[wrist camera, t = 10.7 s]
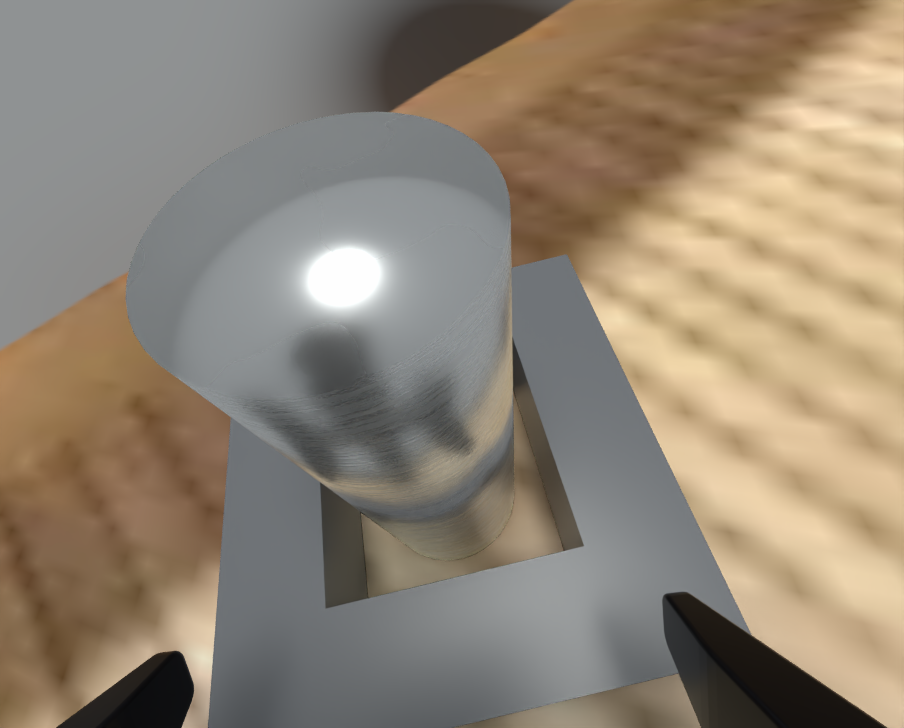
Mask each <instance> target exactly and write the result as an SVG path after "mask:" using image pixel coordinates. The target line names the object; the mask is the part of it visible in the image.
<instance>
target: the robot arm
mask: <svg viewBox="0 0 904 728" xmlns="http://www.w3.org/2000/svg"><path fill="white" fill-rule="evenodd" d="M662 608H663V624H664V635H665V639H666V643H667V646H668V648H669V651H670V653H671V656H672V658H673V660H674V663H675V665H676V668H677V670H678V673H679V675H680V677H681V680H682V682H683V685H684V687H685V689H686V692H687V694H688V697H689V699H690V701H691V704H692V706H693V709H694V711H695V714H696V716H697V718H698V721H699V723H700V726H701V728H887V727H886V726H884V725H883V724H881V723H880V722H878V721H877V720H876V719H874V718H873V717H871V716H870V715H868V714H867V713H865V712H864V711H862V710H861V709H859V708H858V707H856V706H855V705H853V704H852V703H850V702H849V701H848V700H846V699H845V698H843V697H842V696H840V695H839V694H837V693H836V692H834V691H833V690H831V689H830V688H828V687H827V686H825V685H824V684H823V683H821V682H820V681H818V680H817V679H815V678H814V677H812V676H811V675H809V674H808V673H806V672H805V671H803V670H802V669H800V668H799V667H798V666H796V665H795V664H793V663H792V662H790V661H789V660H787V659H786V658H784V657H783V656H781V655H780V654H778V653H777V652H775V651H774V650H773V649H771V648H770V647H768V646H767V645H765V644H764V643H762V642H761V641H759V640H758V639H756V638H755V637H753V636H752V635H750V634H749V633H747V632H746V631H745V630H743V629H742V628H740V627H739V626H737V625H736V624H734V623H733V622H731V621H730V620H728V619H727V618H725V617H724V616H722V615H721V614H720V613H718V612H717V611H715V610H714V609H712V608H711V607H709V606H708V605H706V604H705V603H703V602H702V601H700V600H699V599H697V598H696V597H695V596H693V595H692V594H690V593H688V592H684V591H682V592H674V593H666V594H664V595H663V598H662ZM193 694H194V684H193V681H192V678H191V675H190V672H189V669H188V667H187V664H186V661H185V658H184V656H183V654H182V653H181V652H179V651H171V652H162V653H158V654H156V655H154V656H152V657H151V658H150V659H148V660H147V661H146V662H144V663H143V664H142V665H140V666H139V667H137V668H136V669H135V670H133V671H132V672H131V673H129V674H128V675H127V676H125V677H124V678H123V679H121V680H120V681H119V682H117V683H116V684H114V685H113V686H112V687H110V688H109V689H108V690H106V691H105V692H104V693H102V694H101V695H100V696H98V697H97V698H96V699H94V700H93V701H91V702H90V703H89V704H87V705H86V706H85V707H83V708H82V709H81V710H79V711H78V712H77V713H75V714H74V715H73V716H71V717H70V718H68V719H67V720H66V721H64V722H63V723H62V724H60V725H59V726H58V727H56V728H181V727H182V725H183V722H184V719H185V717H186V714H187V712H188V709H189V707H190V704H191V702H192V698H193Z"/></svg>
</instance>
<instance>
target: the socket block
mask: <svg viewBox="0 0 904 728" xmlns="http://www.w3.org/2000/svg"><path fill="white" fill-rule="evenodd" d="M511 286H512V355H513V391H514V394H515V397H516V400H517V403H518V406H519V410H520V413H521V416H522V419H523V422H524V425H525V428H526V431H527V435H528V438H529V441H530V444H531V447H532V450H533V453H534V457H535V460H536V463H537V466H538V469H539V472H540V475H541V479H542V482H543V485H544V488H545V491H546V494H547V497H548V501H549V504H550V507H551V510H552V513H553V516H554V519H555V523H556V526H557V529H558V532H559V535H560V538H561V541H562V545H563V548H564V551H562V552H558V553H554V554H550V555H545V556H541V557H537V558H533V559H529V560H525V561H521V562H517V563H512V564H508V565H504V566H500V567H496V568H492V569H488V570H483V571H479V572H475V573H471V574H467V575H463V576H459V577H454V578H450V579H446V580H442V581H438V582H434V583H430V584H425V585H421V586H417V587H413V588H409V589H405V590H401V591H396V592H392V593H388V594H384V595H380V596H376V597H372V598H368V594H367V583H366V572H365V560H364V549H363V538H362V526H361V515H360V511H359V510H357V509H356V508H355V507H353V506H352V505H351V504H349V503H348V502H346V501H345V500H344V499H342V498H341V497H340V496H338V495H337V494H335V493H334V492H333V491H331V490H330V489H329V488H327V487H326V486H325V485H323V484H322V483H320V482H319V481H318V480H316V479H315V478H314V477H312V476H311V475H309V474H308V473H307V472H305V471H304V470H303V469H301V468H300V467H299V466H297V465H296V464H294V463H293V462H292V461H290V460H289V459H288V458H286V457H285V456H283V455H282V454H281V453H279V452H278V451H277V450H275V449H274V448H273V447H271V446H270V445H268V444H267V443H266V442H264V441H263V440H262V439H260V438H259V437H257V436H256V435H255V434H253V433H252V432H251V431H249V430H248V429H247V428H245V427H244V426H242V425H241V424H240V423H238V422H237V421H236V420H234V419H233V418H231V424H230V438H229V451H228V465H227V478H226V491H225V505H224V518H223V532H222V545H221V559H220V572H219V586H218V599H217V613H216V626H215V639H214V653H213V666H212V680H211V693H210V707H209V720H208V728H453V727H458V726H462V725H466V724H470V723H474V722H478V721H483V720H487V719H491V718H495V717H499V716H503V715H507V714H512V713H516V712H520V711H524V710H528V709H532V708H537V707H541V706H545V705H549V704H553V703H557V702H561V701H566V700H570V699H574V698H578V697H582V696H586V695H591V694H595V693H599V692H603V691H607V690H611V689H615V688H620V687H624V686H628V685H632V684H636V683H640V682H645V681H649V680H653V679H657V678H661V677H665V676H669V675H674V674H678V670H677V668H676V665H675V663H674V660H673V658H672V656H671V653H670V651H669V648H668V646H667V643H666V639H665V635H664V624H663V608H662V598H663V595H664V594H666V593H674V592H682V591H684V592H688V593H690V594H692V595H693V596H695V597H696V598H697V599H699V600H700V601H702V602H703V603H705V604H706V605H708V606H709V607H711V608H712V609H714V610H715V611H717V612H718V613H720V614H721V615H722V616H724V617H725V618H727V619H728V620H730V621H731V622H733V623H734V624H736V625H737V626H739V627H740V628H742V629H743V630H745V631H746V632H747V633H749V634H750V635H751V633H750V631H749V629H748V627H747V625H746V623H745V621H744V618H743V616H742V614H741V612H740V610H739V608H738V606H737V604H736V602H735V600H734V598H733V596H732V594H731V592H730V590H729V588H728V585H727V583H726V581H725V579H724V577H723V575H722V573H721V571H720V569H719V567H718V565H717V563H716V561H715V559H714V557H713V555H712V553H711V550H710V548H709V546H708V544H707V542H706V540H705V538H704V536H703V534H702V532H701V530H700V528H699V526H698V524H697V522H696V520H695V518H694V515H693V513H692V511H691V509H690V507H689V505H688V503H687V501H686V499H685V497H684V495H683V493H682V491H681V489H680V487H679V485H678V482H677V480H676V478H675V476H674V474H673V472H672V470H671V468H670V466H669V464H668V462H667V460H666V458H665V456H664V454H663V452H662V450H661V447H660V445H659V443H658V441H657V439H656V437H655V435H654V433H653V431H652V429H651V427H650V425H649V423H648V421H647V419H646V417H645V415H644V412H643V410H642V408H641V406H640V404H639V402H638V400H637V398H636V396H635V394H634V392H633V390H632V388H631V386H630V384H629V382H628V380H627V377H626V375H625V373H624V371H623V369H622V367H621V365H620V363H619V361H618V359H617V357H616V355H615V353H614V351H613V349H612V347H611V344H610V342H609V340H608V338H607V336H606V334H605V332H604V330H603V328H602V326H601V324H600V322H599V320H598V318H597V316H596V314H595V312H594V309H593V307H592V305H591V303H590V301H589V299H588V297H587V295H586V293H585V291H584V289H583V287H582V285H581V283H580V281H579V279H578V277H577V274H576V272H575V270H574V268H573V266H572V264H571V262H570V260H569V258H568V256H567V255H562V256H558V257H554V258H550V259H546V260H542V261H538V262H534V263H530V264H525V265H521V266H517V267H513V268H511Z"/></svg>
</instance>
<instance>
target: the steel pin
mask: <svg viewBox="0 0 904 728" xmlns="http://www.w3.org/2000/svg"><path fill="white" fill-rule="evenodd" d="M126 305H127V312H128V318H129V320H130V323H131V326H132V329H133V332H134V334H135V336H136V337H137V339H138V340H139V342H140V344H141V345H142V347H143V348H144V350H145V351H146V352H147V353H148V354H149V355H150V356H151V357H152V358H153V359H154V360H155V361H156V362H157V363H158V364H159V365H160V366H162V367H163V368H164V369H166V370H167V371H169V372H170V373H171V374H173V375H174V376H175V377H177V378H178V379H179V380H181V381H182V382H184V383H185V384H186V385H188V386H189V387H190V388H192V389H193V390H195V391H196V392H197V393H199V394H200V395H201V396H203V397H204V398H205V399H207V400H208V401H210V402H211V403H212V404H214V405H215V406H216V407H218V408H219V409H221V410H222V411H223V412H225V413H226V414H227V415H229V416H230V417H231V418H233V419H234V420H236V421H237V422H238V423H240V424H241V425H242V426H244V427H245V428H247V429H248V430H249V431H251V432H252V433H253V434H255V435H256V436H257V437H259V438H260V439H262V440H263V441H264V442H266V443H267V444H268V445H270V446H271V447H273V448H274V449H275V450H277V451H278V452H279V453H281V454H282V455H283V456H285V457H286V458H288V459H289V460H290V461H292V462H293V463H294V464H296V465H297V466H299V467H300V468H301V469H303V470H304V471H305V472H307V473H308V474H309V475H311V476H312V477H314V478H315V479H316V480H318V481H319V482H320V483H322V484H323V485H325V486H326V487H327V488H329V489H330V490H331V491H333V492H334V493H335V494H337V495H338V496H340V497H341V498H342V499H344V500H345V501H346V502H348V503H349V504H351V505H352V506H353V507H355V508H356V509H357V510H359V511H360V512H361V513H363V514H364V515H366V516H367V517H368V518H370V519H371V520H372V521H374V522H375V523H377V524H378V525H379V526H381V527H382V528H383V529H385V530H386V531H387V532H389V533H390V534H392V535H393V536H394V537H396V538H397V539H398V540H400V541H401V542H403V543H404V544H405V545H407V546H408V547H409V548H411V549H412V550H414V551H415V552H417V553H419V554H421V555H423V556H426V557H429V558H432V559H438V560H456V559H462V558H466V557H469V556H471V555H474V554H476V553H478V552H480V551H481V550H483V549H485V548H486V547H487V546H488V545H490V544H491V543H492V542H493V541H494V540H495V539H496V538H497V537H498V536H499V535H500V533H501V532H502V530H503V529H504V527H505V525H506V524H507V522H508V520H509V517H510V514H511V512H512V508H513V503H514V424H513V355H512V286H511V217H510V198H509V194H508V190H507V186H506V182H505V180H504V178H503V176H502V174H501V172H500V170H499V167H498V166H497V165H496V163H495V162H494V161H493V159H492V158H491V157H490V155H489V154H488V153H487V152H486V151H485V150H484V149H483V148H482V147H481V146H480V145H479V144H478V143H476V142H475V141H474V140H472V139H471V138H469V137H468V136H466V135H465V134H463V133H462V132H460V131H458V130H456V129H454V128H452V127H450V126H448V125H445V124H442V123H439V122H437V121H434V120H431V119H427V118H422V117H418V116H414V115H407V114H400V113H388V112H359V113H349V114H339V115H333V116H327V117H322V118H316V119H313V120H309V121H305V122H301V123H297V124H294V125H291V126H288V127H285V128H282V129H279V130H276V131H274V132H271V133H269V134H266V135H264V136H261V137H259V138H257V139H255V140H253V141H251V142H249V143H247V144H245V145H243V146H240V147H239V148H237V149H235V150H234V151H232V152H230V153H228V154H226V155H225V156H223V157H221V158H220V159H218V160H217V161H215V162H214V163H212V164H211V165H209V166H208V167H207V168H205V169H204V170H202V171H201V172H200V173H199V174H197V175H196V176H195V177H194V178H192V179H191V180H190V181H189V182H187V183H186V184H185V185H184V186H183V187H182V188H181V189H180V190H179V191H178V192H177V193H176V194H175V195H174V196H173V197H172V198H171V199H170V200H169V201H168V202H167V203H166V205H165V206H164V207H163V208H162V209H161V210H160V211H159V213H158V214H157V215H156V217H155V218H154V219H153V221H152V222H151V224H150V225H149V227H148V228H147V230H146V232H145V233H144V235H143V237H142V239H141V240H140V242H139V244H138V246H137V249H136V251H135V254H134V256H133V259H132V261H131V265H130V269H129V273H128V277H127V285H126Z"/></svg>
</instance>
